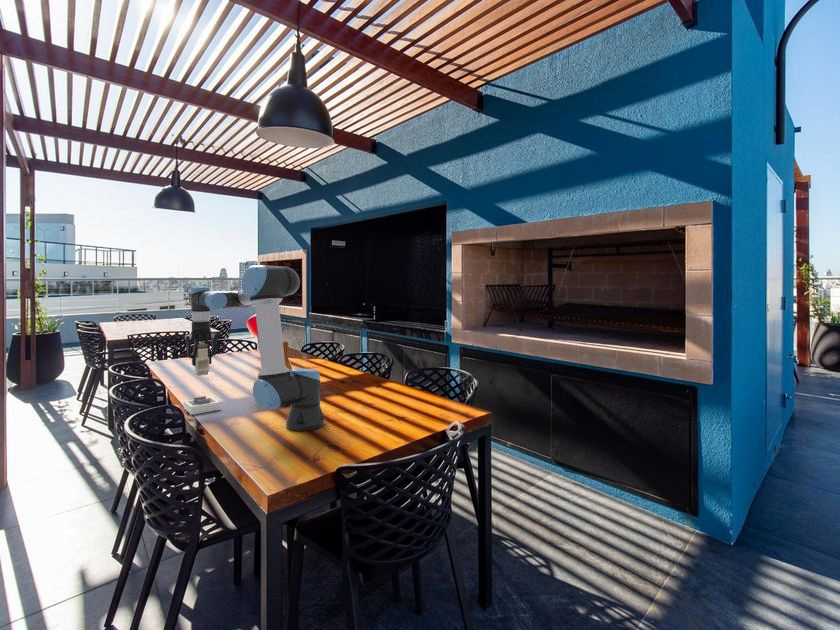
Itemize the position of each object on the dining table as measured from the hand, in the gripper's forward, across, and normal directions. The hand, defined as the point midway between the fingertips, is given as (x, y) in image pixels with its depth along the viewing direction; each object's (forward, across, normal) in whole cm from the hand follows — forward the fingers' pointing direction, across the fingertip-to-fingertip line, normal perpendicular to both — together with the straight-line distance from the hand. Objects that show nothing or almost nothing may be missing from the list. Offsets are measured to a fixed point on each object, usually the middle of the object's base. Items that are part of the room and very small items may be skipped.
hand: (202, 371), depth 193 cm
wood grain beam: (+1, 0, 0) cm, 1 cm away
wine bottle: (+17, -33, +15) cm, 40 cm away
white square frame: (+17, 0, 0) cm, 17 cm away
